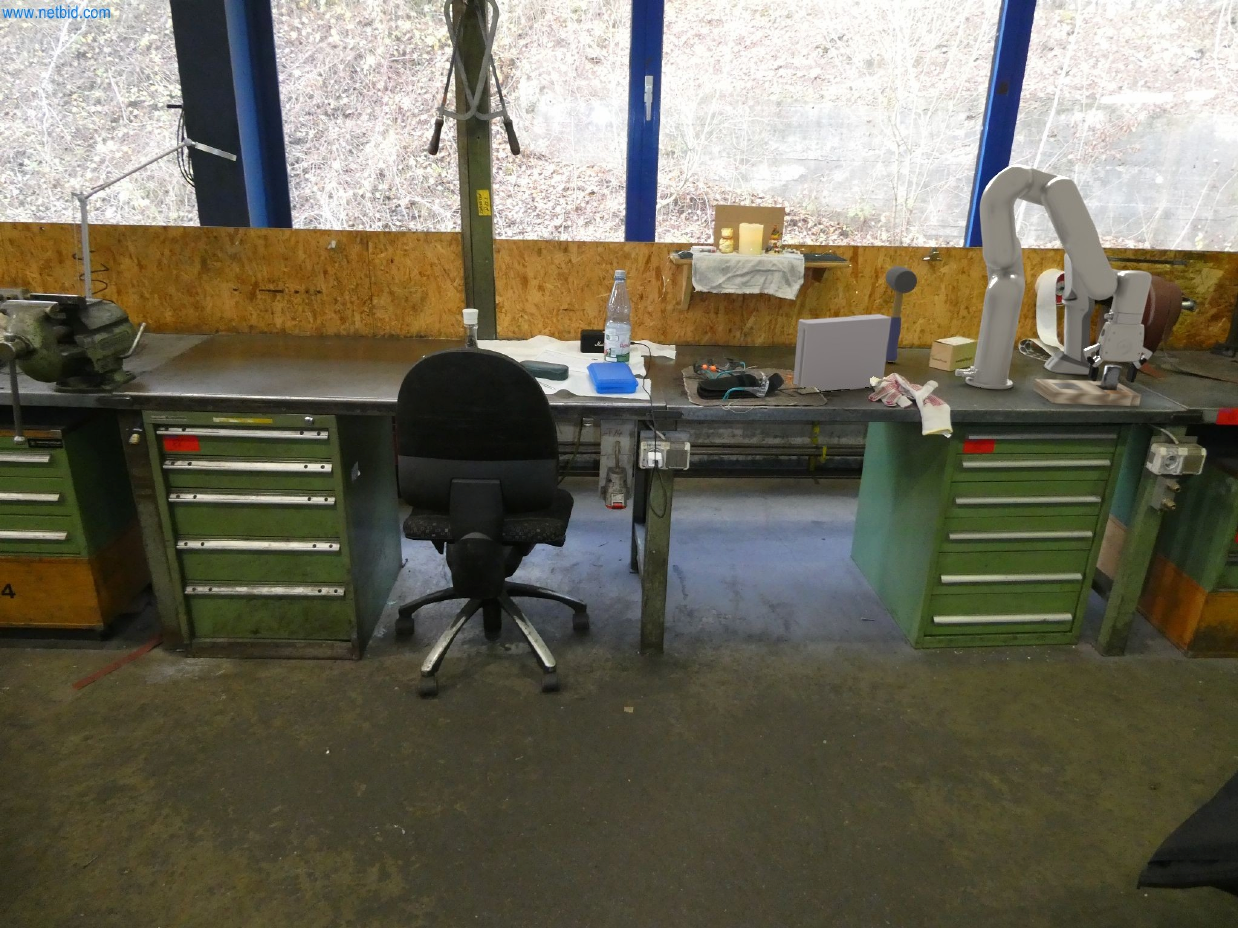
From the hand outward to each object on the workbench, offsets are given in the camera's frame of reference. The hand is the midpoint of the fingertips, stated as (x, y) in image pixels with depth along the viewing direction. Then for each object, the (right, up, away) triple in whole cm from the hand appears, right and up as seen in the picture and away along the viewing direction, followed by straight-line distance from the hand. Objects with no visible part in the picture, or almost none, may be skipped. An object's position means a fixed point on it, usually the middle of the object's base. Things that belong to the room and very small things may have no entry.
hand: (1110, 380), depth 220 cm
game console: (-73, -1, +9) cm, 73 cm away
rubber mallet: (-47, +10, +39) cm, 62 cm away
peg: (0, -5, +2) cm, 5 cm away
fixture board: (-6, -4, +2) cm, 8 cm away
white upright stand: (+6, +6, +31) cm, 33 cm away
